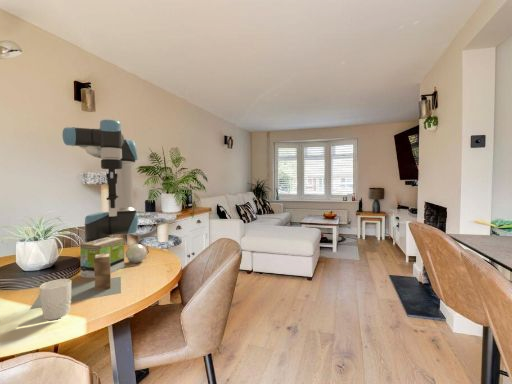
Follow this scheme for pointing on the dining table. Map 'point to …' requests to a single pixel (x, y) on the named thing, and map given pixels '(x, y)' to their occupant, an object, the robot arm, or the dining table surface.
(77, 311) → the dining table surface
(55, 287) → the white cup
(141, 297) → the dining table surface
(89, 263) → the tea box
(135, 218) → the robot arm
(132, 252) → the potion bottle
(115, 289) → the rubber mat
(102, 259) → the walnut block
